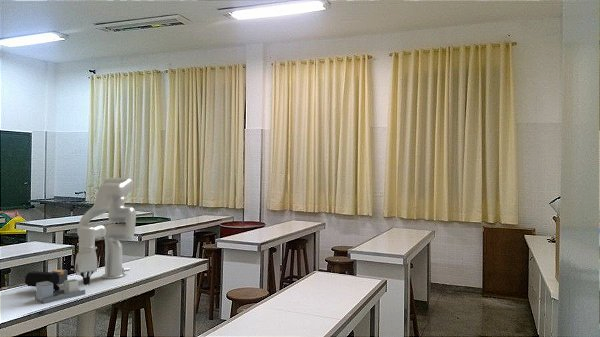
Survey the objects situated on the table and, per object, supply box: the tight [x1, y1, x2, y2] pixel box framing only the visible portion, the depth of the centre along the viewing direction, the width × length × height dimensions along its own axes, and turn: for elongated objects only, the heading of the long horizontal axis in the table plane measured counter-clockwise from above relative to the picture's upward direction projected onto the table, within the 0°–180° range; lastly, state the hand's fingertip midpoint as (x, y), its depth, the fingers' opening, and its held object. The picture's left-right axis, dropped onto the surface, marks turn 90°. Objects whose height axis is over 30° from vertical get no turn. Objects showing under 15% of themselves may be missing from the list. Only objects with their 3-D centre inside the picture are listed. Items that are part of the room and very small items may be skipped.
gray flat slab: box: [34, 288, 86, 305], centre depth 213 cm, size 20×10×2 cm, turn 142°
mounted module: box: [35, 281, 54, 301], centre depth 207 cm, size 5×7×8 cm
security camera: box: [24, 270, 62, 291], centre depth 221 cm, size 7×18×10 cm, turn 78°
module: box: [63, 278, 79, 293], centre depth 217 cm, size 5×6×6 cm
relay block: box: [51, 268, 69, 286], centre depth 239 cm, size 5×6×7 cm
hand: (86, 284), depth 223 cm, fingers closed
